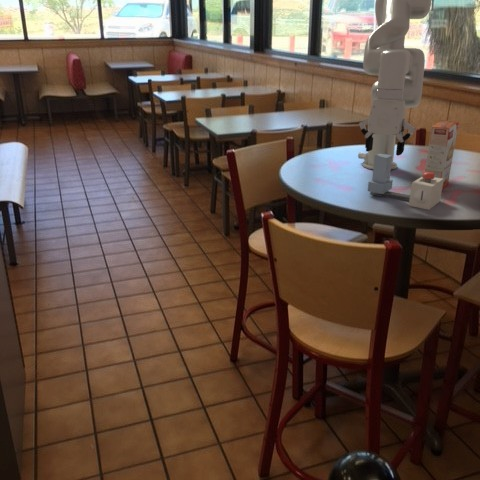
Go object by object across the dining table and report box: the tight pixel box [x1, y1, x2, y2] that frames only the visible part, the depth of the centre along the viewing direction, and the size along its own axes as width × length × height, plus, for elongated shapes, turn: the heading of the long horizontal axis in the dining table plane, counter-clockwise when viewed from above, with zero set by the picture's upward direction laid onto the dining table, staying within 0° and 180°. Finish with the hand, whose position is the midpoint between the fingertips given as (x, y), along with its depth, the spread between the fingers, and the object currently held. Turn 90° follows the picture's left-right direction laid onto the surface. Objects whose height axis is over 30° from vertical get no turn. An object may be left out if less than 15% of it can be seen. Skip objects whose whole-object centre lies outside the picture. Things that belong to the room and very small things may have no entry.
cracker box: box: [424, 119, 460, 190], centre depth 166 cm, size 14×6×21 cm, turn 148°
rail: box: [369, 190, 410, 202], centre depth 160 cm, size 14×2×1 cm, turn 52°
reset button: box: [421, 171, 435, 183], centre depth 151 cm, size 3×3×3 cm
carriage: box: [367, 154, 394, 194], centre depth 160 cm, size 5×7×11 cm
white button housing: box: [408, 176, 444, 210], centre depth 153 cm, size 6×10×7 cm, turn 142°
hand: (383, 152), depth 157 cm, fingers open, 9 cm apart
